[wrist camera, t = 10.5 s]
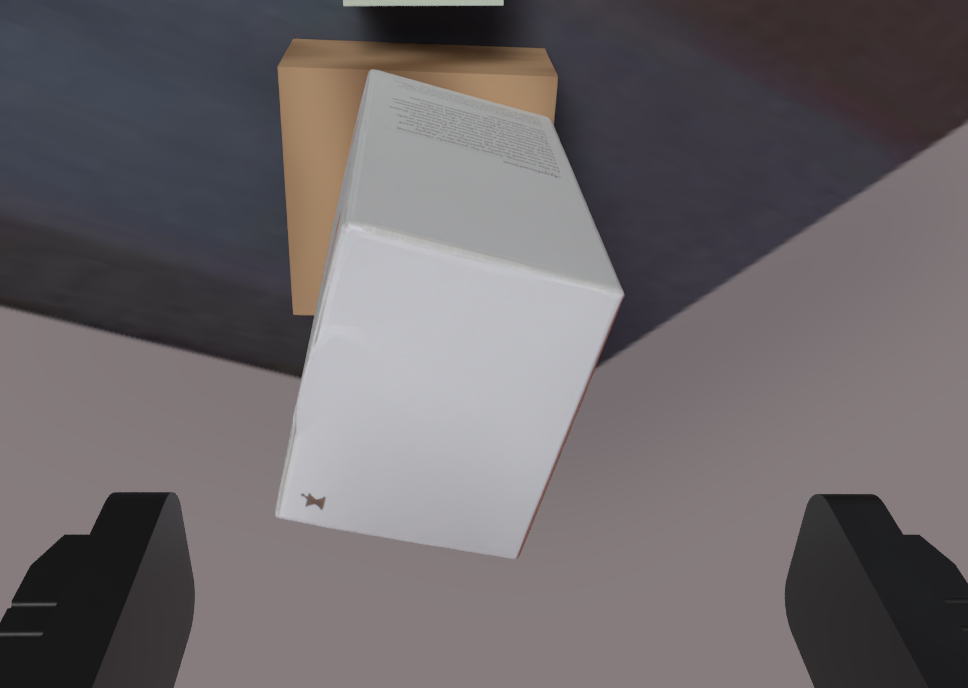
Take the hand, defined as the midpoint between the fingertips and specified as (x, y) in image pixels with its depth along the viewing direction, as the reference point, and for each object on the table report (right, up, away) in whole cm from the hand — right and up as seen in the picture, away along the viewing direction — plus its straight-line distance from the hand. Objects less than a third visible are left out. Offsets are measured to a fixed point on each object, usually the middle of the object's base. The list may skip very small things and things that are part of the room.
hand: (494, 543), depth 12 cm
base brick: (-3, +10, +24) cm, 26 cm away
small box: (-2, +8, +20) cm, 22 cm away
